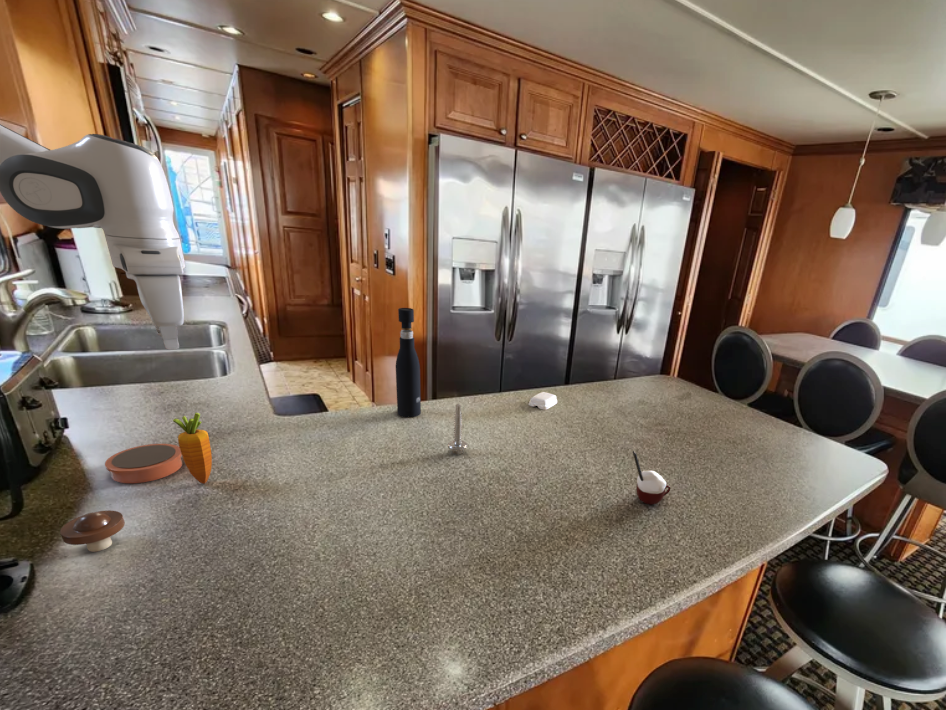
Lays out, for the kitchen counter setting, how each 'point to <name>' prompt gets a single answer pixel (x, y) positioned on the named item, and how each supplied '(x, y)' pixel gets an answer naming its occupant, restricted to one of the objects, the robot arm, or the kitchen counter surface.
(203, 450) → the carrot
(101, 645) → the kitchen counter surface
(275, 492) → the kitchen counter surface
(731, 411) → the kitchen counter surface
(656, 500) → the cocoa
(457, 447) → the screw
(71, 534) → the mushroom
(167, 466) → the pot
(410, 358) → the black water bottle
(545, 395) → the soap
